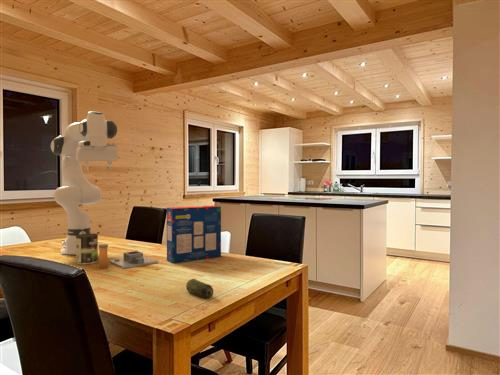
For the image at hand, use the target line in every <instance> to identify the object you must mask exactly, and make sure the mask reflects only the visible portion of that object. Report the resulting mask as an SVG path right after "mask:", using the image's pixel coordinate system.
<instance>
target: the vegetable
mask: <svg viewBox="0 0 500 375" xmlns="http://www.w3.org/2000/svg"><path fill="white" fill-rule="evenodd" d="M185 288H186V290H187V292H189V293H192V294H195V295H197V296H198V297H202V298H203V299H210V298H212V297H213V294H214V288H213V287H212V285H211V284H207V283H205V282H202V281H200V280H197V279H196V278H191V279H189V280H188V281H187V282H186V285H185Z"/></svg>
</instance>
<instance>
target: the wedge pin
mask: <svg viewBox="0 0 500 375" xmlns="http://www.w3.org/2000/svg"><path fill="white" fill-rule="evenodd" d="M108 247H109V244H108V243H104V244H98V265H99V266H98V267H99V269H101V270H103V269H107V268H108Z"/></svg>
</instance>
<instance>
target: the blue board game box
mask: <svg viewBox="0 0 500 375" xmlns="http://www.w3.org/2000/svg"><path fill="white" fill-rule="evenodd" d="M215 258H222V206H220V205H199V206H197V205H195V206H173V207H171V206H170V207H166V262H168V263H170V264H179V263H180V264H181V263H186V262H188V263H189V262H193V261H194V262H195V261H202V260H207V259H209V260H210V259H215Z"/></svg>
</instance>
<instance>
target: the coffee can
mask: <svg viewBox="0 0 500 375" xmlns="http://www.w3.org/2000/svg"><path fill="white" fill-rule="evenodd" d="M98 238H99V235H98V233H90V234H80V235H76V254H75V255H76V256H75V257H76V261H75V264H76V265H92V264H96V263H99V244H98V243H99V241H98Z"/></svg>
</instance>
